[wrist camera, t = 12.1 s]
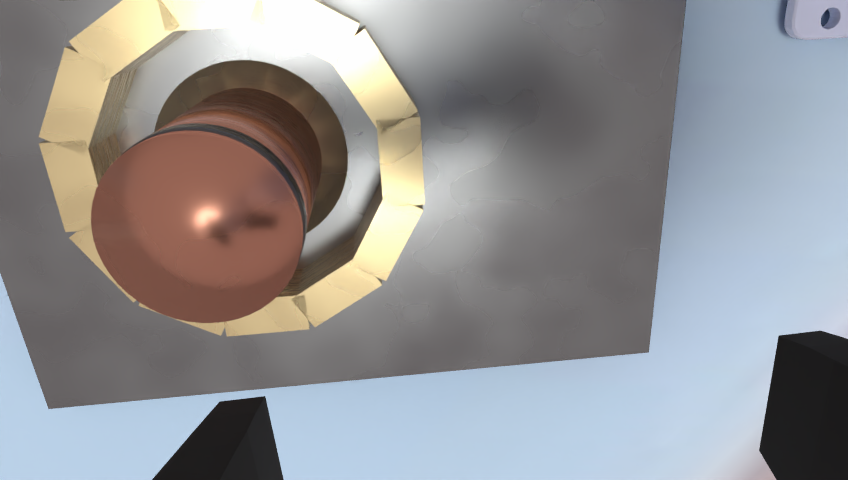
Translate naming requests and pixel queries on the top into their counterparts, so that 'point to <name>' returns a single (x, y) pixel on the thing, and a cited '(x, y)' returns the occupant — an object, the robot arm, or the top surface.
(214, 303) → the round knob
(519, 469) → the top surface
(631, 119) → the collar plate
